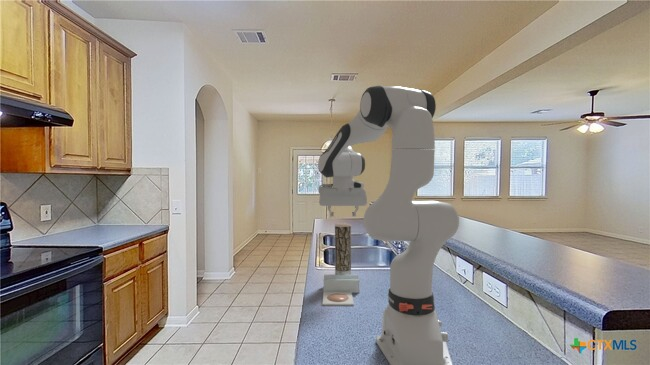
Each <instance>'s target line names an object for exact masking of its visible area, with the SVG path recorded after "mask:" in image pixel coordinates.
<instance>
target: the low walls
mask: <svg viewBox="0 0 650 365" xmlns="http://www.w3.org/2000/svg"><path fill="white" fill-rule="evenodd" d="M323 292H352V294H360V279H359V274H351V275H335V274H323Z"/></svg>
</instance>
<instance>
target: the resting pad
mask: <svg viewBox="0 0 650 365" xmlns="http://www.w3.org/2000/svg"><path fill="white" fill-rule="evenodd" d="M322 295H323V296H322V306H346V307H347V306H351V307H352V306H355V305H354V304H355V303H354V297H353V293H352V292H324V291H323V294H322Z"/></svg>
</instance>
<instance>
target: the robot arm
mask: <svg viewBox="0 0 650 365" xmlns="http://www.w3.org/2000/svg"><path fill="white" fill-rule="evenodd" d="M436 106H437V104H436V99H435V97H434V95H433V94H432V93H431V92H429V91H427V90H423V89H420V88H419V89H415V88H411V87H410V88H409V87H403V86H398V85H396V86H394V85H388V86H387V85H385V86H384V85H383V86H382V85H374V86H373V85H372V86H370V87H368V88H366V89H365V90H364V92H363V93H362V95H361V98H360V104H359V107H360V108H359V110H358V112H357V114H356V115H355V116H354V117H353V118H352V119H351V120H350V121H348V122H347V123H345V124H344V125H342V126H341V127H340V128H339V130H338V131H337V133H336V134H335V136H334V137H333V139H332V140H331V142H330V143H329V145H328V146H327V148H326V149H325V151H324V152H322V153H321V155H320V156H319V158H318V161H317V162H318V163H317V165H318V166H317V167H318V171H319V172H320V173H321V174H322V176H324V177H325V178H332V183H322V184H320V185H319V186H318V194H319V202H318V204H319V205H320V207H324V206H325V207H327V210H328V212H329V216H330V217H334V216H335V215H334V213H335V212H334V211H332V210H331V208H332V207H333V206H334V207H337V206H338V207H343V206H344V207H354V208H355V210H353V211H352V214H351V217H356V216H357V211H358V210H359V207H365V206H367V203H368V199H367V197H368V196H367V192H366V190H365V189H364V187H365V185H364V183H363V182H360V181H358V180H355V179H354V177H358V176H360V175H362V174H363V172H364V171H365V169H366V160H365V157H364V156H363V154H361V153H360V152H356V151H354V149H353V147H352V146H353V145H358V144H364V143H371V142H374V141H375V142H376V141H378V140H379V139H380V138H381V137H383V135H384V134H385V133H386V132H387V130H388V128H389V127H390V129H391V131H392V138H391V139H392V140H391V160H390V162H391V164H390V172H389V178H388V182H387V184H386V186H385V187H384V188H385V189H384V191H383V192H382V193H381V195H380V196H379V197H378V198H377V199H376V200H375V201H374V202H372V203H371V204H369V205H368V207H367V208H366V210H365V213H364V216H363V227H364V229H365V232H366V233H367V234H368V235H367V236H369V237H370V238H371V239H373V240H376V241H381V242H382V241H383V242H389V243H392V242H393V243H394V242H409V244H408V245H407V247H406V249H405V250H404V251H403V252H400V253H399V254H397V255H395V256H394V257H393V259H392V261H391V262H390V265H389V267H390V268H389V269H390V270H389V276H390V277H389V289H388V293H387V297H388V301H387V302H388V305H387V307H385V309H384V310H383V311H382V327H381V328H382V329H381V334H380V335H377V336H376V337H375V342H376V344H377V346H378V347H379V349H380V351H381V352H382V353H383V356H384V357H385V359H386V361H387V362H388V363H389V365H453V361H452V358H451V356H450V354H451V353H450V351H449V348H448V344H447V342H449V337H448V332H447V331H441V328H440V327H442V326H443V322H442V320H439V318H438V311H437V310H436V308H435V303H436V302H435V297H434V292H433V271H434V265H435V261H436V260H437V259H436V258H437V255H438V254H439V252H440V251H441V249H442V247H443V246H444V245H445V243H446V242H448V240H450V239H452V237H454V236H455V235H456V234H457V231H458V229H459V227H460V217H459V214H458V212H457V210H456V208H455V207H454V206H453V205H452V204H451V203H449V202H444V201H438V200H413V198H414V195H415V193H417V191H418V190H419V189H421V188H423V187H425V186H426V185H428V184H429V183H430V182H431V181H432V180H433V177H434V175H435V151H436V150H435V149H436V148H435V147H436V144H435V139H436V138H435V128H434V121H433V117H434V116H435V113H436V109H437V108H436Z"/></svg>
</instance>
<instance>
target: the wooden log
mask: <svg viewBox="0 0 650 365" xmlns="http://www.w3.org/2000/svg"><path fill="white" fill-rule="evenodd" d="M334 275H352V224H351V223H349V222H338V223H335V224H334Z"/></svg>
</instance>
